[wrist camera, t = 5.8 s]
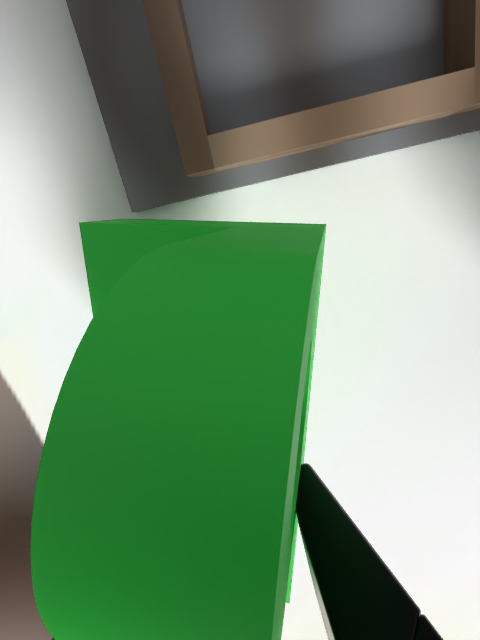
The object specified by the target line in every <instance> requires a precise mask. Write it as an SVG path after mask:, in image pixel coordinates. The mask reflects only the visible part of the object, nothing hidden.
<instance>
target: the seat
mask: <svg viewBox="0 0 480 640" xmlns="http://www.w3.org/2000/svg"><path fill="white" fill-rule="evenodd" d="M66 1H67V5H68V8H69V11H70V14H71V17H72V21H73V24H74V27H75V30H76V33H77V37H78V40H79V43H80V46H81V49H82V53H83V56H84V59H85V62H86V65H87V69H88V72H89V75H90V78H91V81H92V85H93V88H94V91H95V94H96V97H97V101H98V104H99V107H100V110H101V113H102V117H103V120H104V123H105V126H106V129H107V133H108V136H109V139H110V142H111V145H112V149H113V152H114V155H115V158H116V161H117V165H118V168H119V171H120V174H121V177H122V181H123V184H124V187H125V190H126V193H127V197H128V200H129V203H130V206H131V209H132V212H138V211H142V210H146V209H150V208H154V207H159V206H163V205H167V204H171V203H175V202H180V201H184V200H188V199H192V198H196V197H201V196H205V195H209V194H213V193H217V192H222V191H226V190H230V189H234V188H238V187H243V186H247V185H251V184H255V183H259V182H264V181H268V180H272V179H276V178H280V177H285V176H289V175H293V174H297V173H301V172H306V171H310V170H314V169H318V168H322V167H327V166H331V165H335V164H339V163H343V162H348V161H352V160H356V159H360V158H364V157H369V156H373V155H377V154H381V153H385V152H389V151H394V150H398V149H402V148H406V147H410V146H415V145H419V144H423V143H427V142H431V141H436V140H440V139H444V138H448V137H452V136H457V135H461V134H465V133H469V132H473V131H478V130H480V0H66Z"/></svg>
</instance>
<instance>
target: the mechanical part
mask: <svg viewBox="0 0 480 640" xmlns="http://www.w3.org/2000/svg"><path fill="white" fill-rule="evenodd" d="M79 224H80V231H81V238H82V244H83V251H84V258H85V265H86V271H87V278H88V285H89V291H90V298H91V305H92V311H93V319H92V321H91V322H90V324H89V326H88V328H87V330H86V332H85V334H84V336H83V338H82V340H81V342H80V344H79V346H78V348H77V350H76V352H75V355H74V357H73V359H72V362H71V364H70V367H69V369H68V371H67V374H66V376H65V378H64V381H63V384H62V387H61V390H60V393H59V396H58V399H57V402H56V404H55V407H54V410H53V413H52V417H51V421H50V424H49V428H48V432H47V436H46V439H45V443H44V447H43V451H42V456H41V461H40V467H39V472H38V477H37V482H36V488H35V497H34V505H33V514H32V523H31V525H32V526H31V569H32V584H33V589H34V595H35V599H36V605H37V610H38V612H39V614H40V616H41V618H42V621H43V623H44V625H45V627H46V629H47V630H48V631H49V632H50V634H51V635H52V636H53V638H54V639H55V640H281V633H282V625H283V618H284V610H285V602H286V603H289V601H290V591H291V582H292V573H293V564H294V555H295V545H296V535H297V525H298V519H297V514H296V501H297V493H298V485H299V477H300V469H301V464H303V462H304V451H305V441H306V430H307V420H308V409H309V399H310V389H311V378H312V368H313V357H314V347H315V336H316V326H317V315H318V305H319V294H320V284H321V273H322V263H323V253H324V242H325V232H326V224H298V223H261V222H224V221H187V220H151V219H117V220H105V221H93V222H81V223H79Z"/></svg>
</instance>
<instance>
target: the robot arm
mask: <svg viewBox="0 0 480 640" xmlns="http://www.w3.org/2000/svg"><path fill="white" fill-rule="evenodd" d="M296 514H297V519H298V523H299V527H300V531H301V535H302V539H303V544H304V548H305V552H306V556H307V560H308V564H309V568H310V572H311V576H312V581H313V585H314V589H315V592H316V596H317V600H318V603H319V607H320V611H321V614H322V618H323V621H324V625H325V629H326V632H327V636H328V639H329V640H443V638H442V637H441V636H440V635H439V633H438V632H437V631H436V629H435V628H434V627H433V625H432V624H431V623H430V621H429V620H428V619H427V617H426V616H425V615H423V614H422V615H421V611H420V609H419V607H418V606H417V605H416V603H415V602H414V601H413V600H412V598H411V597H410V596H409V594H408V593H407V592H406V590H405V589H404V588H403V586H402V585H401V584H400V582H399V581H398V580H397V579H396V577H395V576H394V575H393V573H392V572H391V571H390V569H389V568H388V567H387V565H386V564H385V563H384V561H383V560H382V559H381V558H380V556H379V555H378V554H377V552H376V551H375V550H374V548H373V547H372V546H371V544H370V543H369V542H368V540H367V539H366V538H365V537H364V535H363V534H362V533H361V531H360V530H359V529H358V527H357V526H356V525H355V523H354V522H353V521H352V519H351V518H350V517H349V515H348V514H347V513H346V512H345V510H344V509H343V508H342V506H341V505H340V504H339V502H338V501H337V500H336V498H335V497H334V496H333V494H332V493H331V492H330V491H329V489H328V488H327V487H326V485H325V484H324V483H323V481H322V480H321V479H320V477H319V476H318V475H317V473H316V472H315V471H314V470H313V468H312V467H311V466H310V465H309V464H307V463H306V464H301V469H300V477H299V485H298V493H297V501H296ZM52 640H55V639H54V638H52Z"/></svg>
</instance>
